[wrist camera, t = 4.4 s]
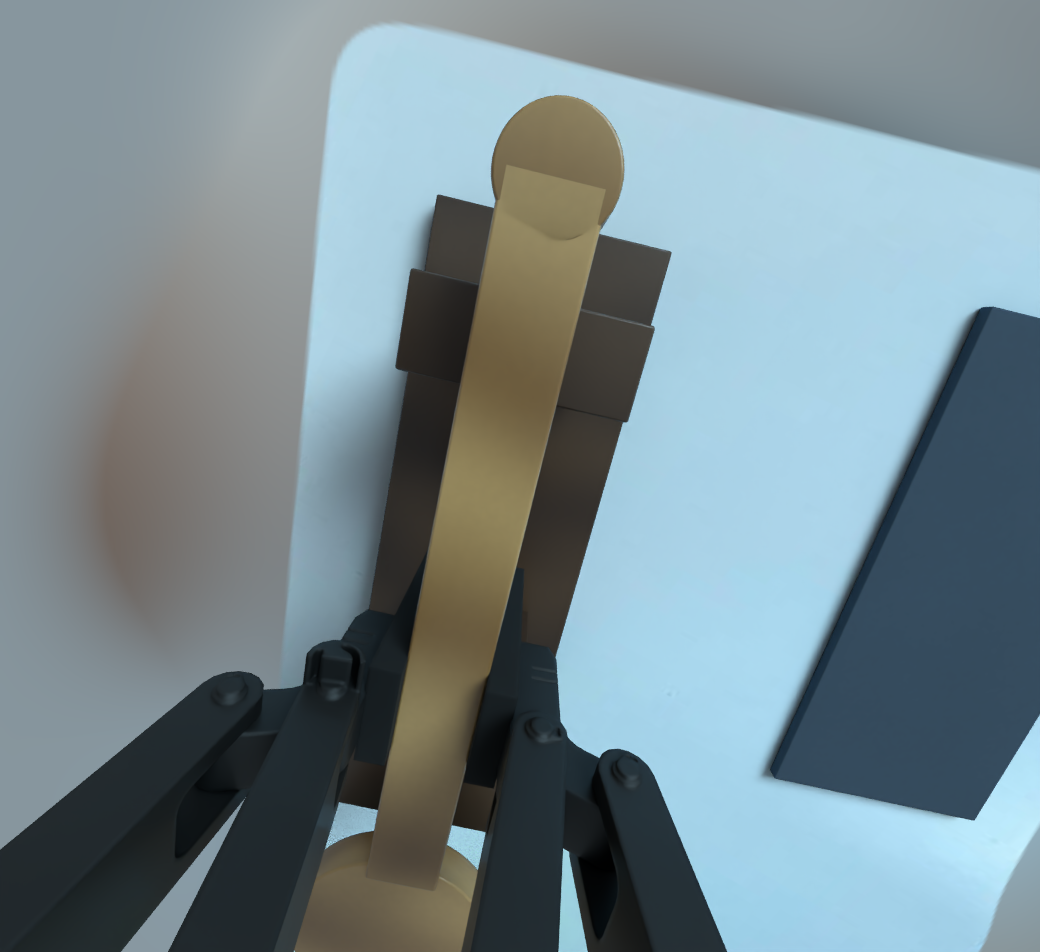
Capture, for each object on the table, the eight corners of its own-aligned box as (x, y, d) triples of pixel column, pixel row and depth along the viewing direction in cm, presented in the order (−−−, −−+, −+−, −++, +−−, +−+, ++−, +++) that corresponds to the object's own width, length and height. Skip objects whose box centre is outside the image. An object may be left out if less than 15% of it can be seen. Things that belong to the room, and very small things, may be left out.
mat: (980, 307, 22) (992, 306, 21) (1234, 369, 22) (1252, 370, 21) (769, 769, 29) (774, 778, 28) (965, 811, 29) (974, 820, 28)
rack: (441, 200, 21) (347, 58, 11) (666, 255, 21) (794, 172, 11) (368, 637, 27) (260, 830, 16) (546, 675, 27) (553, 889, 17)
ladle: (419, 85, 10) (403, 51, 8) (717, 161, 10) (741, 138, 9) (293, 948, 16) (275, 995, 15) (471, 982, 16) (467, 1031, 15)
